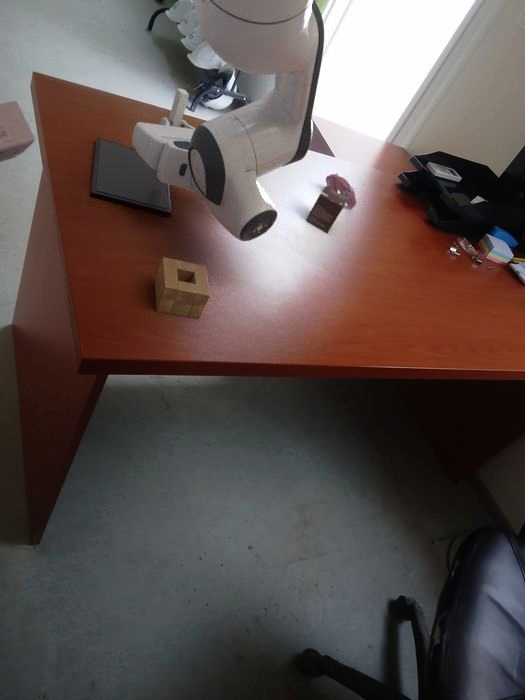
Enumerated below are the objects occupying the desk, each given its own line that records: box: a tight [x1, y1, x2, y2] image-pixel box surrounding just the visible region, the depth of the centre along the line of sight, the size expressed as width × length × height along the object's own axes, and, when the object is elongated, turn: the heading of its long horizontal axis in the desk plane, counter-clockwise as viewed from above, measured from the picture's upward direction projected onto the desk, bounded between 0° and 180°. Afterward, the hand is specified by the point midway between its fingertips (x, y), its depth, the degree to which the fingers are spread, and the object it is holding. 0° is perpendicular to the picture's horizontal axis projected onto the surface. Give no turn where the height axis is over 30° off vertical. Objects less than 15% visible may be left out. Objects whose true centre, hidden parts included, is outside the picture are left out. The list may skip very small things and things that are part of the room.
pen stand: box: [154, 256, 211, 319], centre depth 69 cm, size 7×7×5 cm
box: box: [306, 185, 347, 234], centre depth 106 cm, size 6×6×7 cm
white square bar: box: [168, 87, 190, 127], centre depth 83 cm, size 2×2×15 cm
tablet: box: [89, 136, 172, 218], centre depth 87 cm, size 20×14×1 cm
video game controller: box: [325, 172, 357, 209], centre depth 120 cm, size 10×5×7 cm
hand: (171, 122), depth 82 cm, fingers closed on white square bar, 1 cm apart
